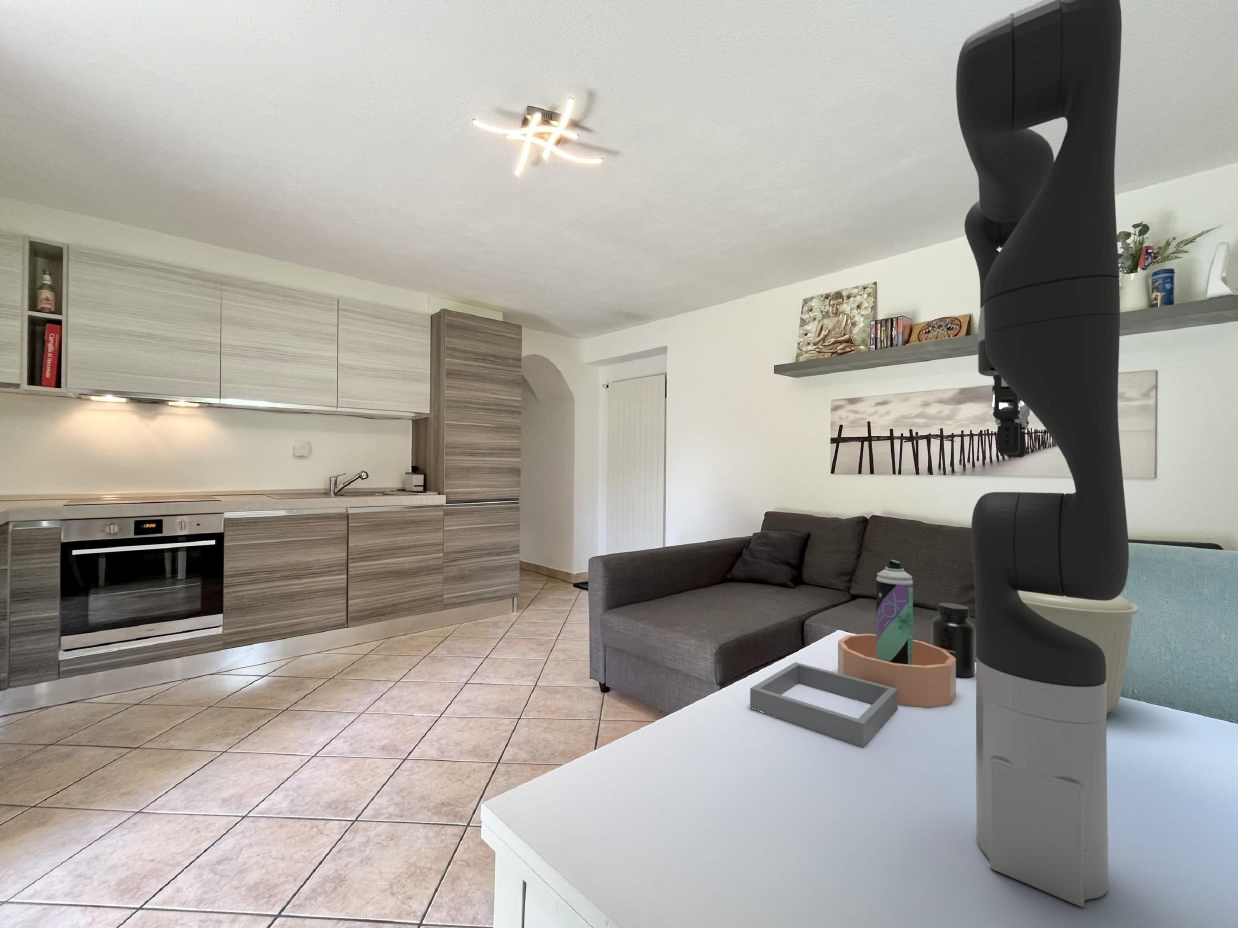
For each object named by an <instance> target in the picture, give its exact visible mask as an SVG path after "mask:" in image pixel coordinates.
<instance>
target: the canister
mask: <svg viewBox="0 0 1238 928" xmlns="http://www.w3.org/2000/svg"><path fill="white" fill-rule="evenodd" d="M1018 593H1019V596H1020V598H1021V600H1022V601H1023V602H1024V603H1025V604H1026V605H1027V606H1028V607H1029V608H1031V609H1032V610H1033V611H1035V612H1036V613H1037V614H1039V615H1040V616H1042V617H1044V618H1045V619H1047V620H1049V621H1051V622H1053V623H1055V624H1057V625H1059V626H1061V627H1063V628H1065V629H1067V630H1070V631H1072V632H1074V633H1077V634H1079V635H1081V636H1083V637H1085V638H1087V639H1089V640H1091V641H1093V642H1094V643H1095V644H1097V645H1098V646H1099V647H1100V648H1101V649H1102V651H1103V652H1104V655H1105V660H1106V712H1107V714H1108V713H1111V712H1112V711H1113V710H1115V709H1116V707H1117V706H1118V704H1119V701H1120V700H1121V694H1122V689H1123V685H1124V679H1125V674H1126V667H1127V660H1128V654H1129V646H1130V638H1131V632H1132V623H1133V616H1134V615H1135V614H1138V612H1139V611H1140V607H1139V606H1138V605H1136V604H1134V603H1131V602H1129V601H1128V599H1126V598H1125V597H1122V596H1121V595H1119V596H1118V597H1116V598H1115V599H1112V600H1108V601H1101V600H1088V599H1080V598H1072V597H1066V596H1055V595H1048V594H1040V593H1033V592H1025V591H1018Z"/></svg>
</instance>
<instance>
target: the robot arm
mask: <svg viewBox="0 0 1238 928" xmlns="http://www.w3.org/2000/svg"><path fill="white" fill-rule="evenodd" d="M1121 7H1122V6H1121V1H1120V0H1038V1H1036V2H1034V3H1031V4H1029V5H1026V6H1024V7H1022V8H1019V9H1017V10H1014V11H1012V12H1010V13H1007V14H1005V15H1003V16H1001V17H998V18H996V19H994V20H992V21H990V22H988V23H987V24H985V25H983V26H981V27H979V28H978V29H976V30H975V31H973V32H972V33H971V34H970V35H968V37H967V38H966V40H965V41H964V43H963V44H962V46H961V49H960V51H959V55H958V59H957V65H956V78H955V79H956V80H955V94H956V95H955V96H956V108H957V109H956V110H957V116H958V123H959V127H960V131H961V134H962V137H963V141H964V143H965V146H966V148H967V152H968V154H969V157H970V160H971V162H972V164H973V166H974V169H975V171H976V173H977V177H978V194H979V195H978V196H979V197H978V198H979V199H978V201H976V202H975V203H973V205H972V206H971V207H970V208H969V210H968V211H967V214H966V216H965V219H964V232H965V235H966V240H967V242H968V245H969V246H970V247H969V248H970V250H971V252H972V254H973V257H974V260H975V264H976V267H977V271H978V278H979V292H980V293H979V298H980V299H979V305H980V306H979V318H978V323H977V342H978V343H977V351H978V352H977V361H978V362H977V371H978V373H979V374H980V375H981V376H985V377H992V380H994V381H993V382H994V383H993V385H992V389H991V393H992V398H993V399H992V410H993V412H992V416H993V418H994V423H996V426H997V452H998V453H999V454H1001V455H1005V457H1007V458H1012V459H1013V458H1016V459H1017V458H1024V457H1025V456H1026V431H1027V430H1028V428H1029V427H1028V426H1029V424H1030V422H1029V420H1028V419H1029V417H1030V416H1031V415H1030V414H1031V412H1032V414H1033V415H1034V416H1035V417H1036V418H1037V419H1038V421H1039V422H1040V423H1041V424H1042V426H1043V427H1044V428H1045V430H1046V431H1047V432H1048V434H1049V435H1050V437H1051V438H1052V440H1053V441H1054V442H1055V444H1056V446H1057V447H1058V449H1059V451H1060V452H1061V454H1062V456H1063V457H1064V459H1065V462H1066V465H1067V466H1068V469H1069V471H1070V474H1071V477H1072V480H1073V485H1074V490H1075V492H1072V493H1068V492H1066V493H1064V492H1035V491H1034V492H1030V491H1029V492H1028V491H1026V492H1025V491H1023V492H1020V491H992V492H987V493H985V494H983V495H981V496H980V497H979V498H978V500H977V501H976V504H975V506H974V508H973V512H972V516H971V526H970V527H971V529H970V530H971V531H970V536H971V537H970V538H971V542H970V543H971V557H972V569H973V585H974V602H975V603H974V606H975V607H974V608H975V609H974V610H975V611H974V612H975V614H974V617H975V621H974V622H975V632H976V634H975V673H976V674H975V675H976V676H975V678H976V680H975V681H976V682H975V684H976V685H975V686H976V687H975V704H976V705H975V711H976V712H975V714H976V715H975V723H976V724H975V725H976V726H975V728H976V729H975V737H976V738H975V745H976V746H975V747H976V748H975V750H976V751H975V761H976V762H975V763H976V764H975V766H976V767H975V769H976V770H975V772H976V774H975V775H976V777H975V779H976V780H975V783H976V785H975V786H976V787H975V789H976V791H975V796H976V797H975V798H976V802H975V803H976V807H975V808H976V841H977V844H978V846H979V848H980V850H981V851H982V852H983V853H984V855H985V856H986V857H987V858H988V860H989V868H990V869H992V870H994V871H996V872H998V873H1001V874H1003V875H1006V876H1009V877H1010V878H1013V879H1014V880H1017V881H1019V882H1022V883H1024V884H1027V885H1029V886H1032V887H1034V888H1037V889H1038V890H1041V891H1043V892H1046V893H1047V894H1051V895H1052V896H1055V897H1056V898H1059V899H1061V900H1064V901H1066V902H1068V903H1072V904H1074V905H1075V906H1079V907H1081V908H1083V907H1085V902H1086V900H1087V901H1088V900H1093V899H1098V898H1100V897H1103V896H1105V894H1106V893H1107V892H1108V890H1109V838H1108V836H1109V835H1108V832H1109V831H1108V828H1109V827H1108V755H1107V754H1108V751H1107V746H1108V743H1107V714H1108V713H1107V712H1106V660H1105V655H1104V652H1103V651H1102V649H1101V648H1100V647H1099V646H1098V645H1097V644H1095V643H1094V642H1093V641H1091V640H1089V639H1087V638H1085V637H1083V636H1081V635H1079V634H1077V633H1074V632H1072V631H1070V630H1067V629H1065V628H1063V627H1061V626H1059V625H1057V624H1055V623H1053V622H1051V621H1049V620H1047V619H1045V618H1044V617H1042V616H1040V615H1039V614H1037V613H1036V612H1035V611H1033V610H1032V609H1031V608H1029V607H1028V606H1027V605H1026V604H1025V603H1024V602H1023V601H1022V600H1021V598H1020V596H1019V593H1018V591H1025V592H1033V593H1040V594H1048V595H1055V596H1066V597H1072V598H1080V599H1088V600H1101V601H1108V600H1112V599H1115V598H1116V597H1118V596H1121V594H1122V592H1123V591H1124V588H1125V586H1126V583H1127V578H1128V573H1129V563H1130V562H1129V559H1130V558H1129V557H1130V549H1129V533H1128V531H1129V530H1128V520H1127V518H1128V517H1127V510H1126V501H1125V500H1126V497H1125V488H1124V487H1125V486H1124V478H1123V475H1124V474H1123V465H1122V455H1121V454H1122V453H1121V444H1120V443H1121V442H1120V441H1121V440H1120V432H1119V431H1120V429H1119V369H1120V368H1119V367H1120V366H1119V365H1120V364H1119V363H1120V335H1121V333H1120V330H1121V306H1120V305H1121V303H1120V302H1121V299H1120V298H1121V297H1120V296H1121V295H1120V293H1121V290H1120V288H1121V287H1120V284H1121V283H1120V266H1119V265H1120V262H1119V261H1120V260H1119V247H1118V233H1117V230H1118V228H1117V215H1116V214H1117V212H1116V211H1117V210H1116V208H1117V207H1116V193H1115V192H1116V189H1115V169H1116V168H1115V164H1116V157H1115V156H1116V141H1117V125H1118V124H1117V122H1118V107H1119V91H1120V89H1119V88H1120V75H1121V60H1122V59H1121V57H1122V56H1121V55H1122V34H1123V33H1122V31H1123V29H1122V27H1123V26H1122V25H1123V24H1122V8H1121ZM1062 118H1065V120H1066V124H1067V125H1066V126H1067V127H1066V131H1065V135H1064V137H1063V140H1062V143H1061V146H1060V148H1059V151H1058V153H1057V155H1056V157H1055V156H1054V151H1053V148H1052V147H1051V144H1050V142H1048V140H1047V139H1046V138H1045V137H1044V136H1042V135H1041V134H1040V133H1038V132H1036V131H1035V130H1033V129H1031V128H1032V127H1035V126H1038V125H1041V124H1045V123H1049V122H1051V121H1054V120H1057V119H1062ZM998 249H1000V250H998Z"/></svg>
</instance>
